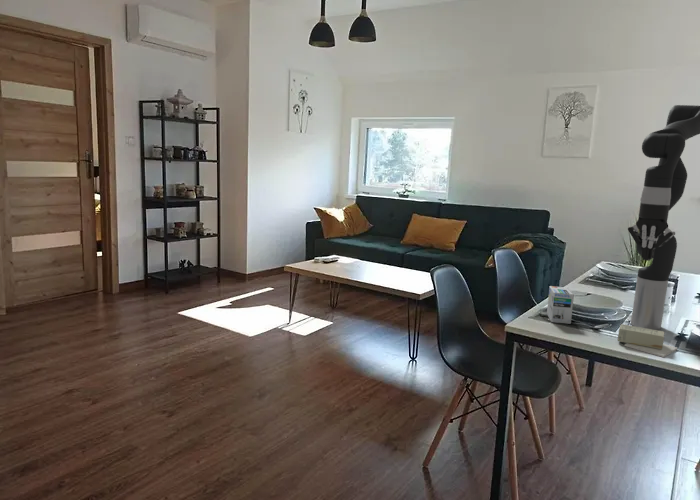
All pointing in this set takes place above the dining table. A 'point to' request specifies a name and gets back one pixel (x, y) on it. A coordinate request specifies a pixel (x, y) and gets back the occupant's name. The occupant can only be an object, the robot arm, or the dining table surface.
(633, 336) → the skincare box
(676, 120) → the robot arm
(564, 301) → the light bulb box
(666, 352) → the grey mat
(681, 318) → the dining table surface
